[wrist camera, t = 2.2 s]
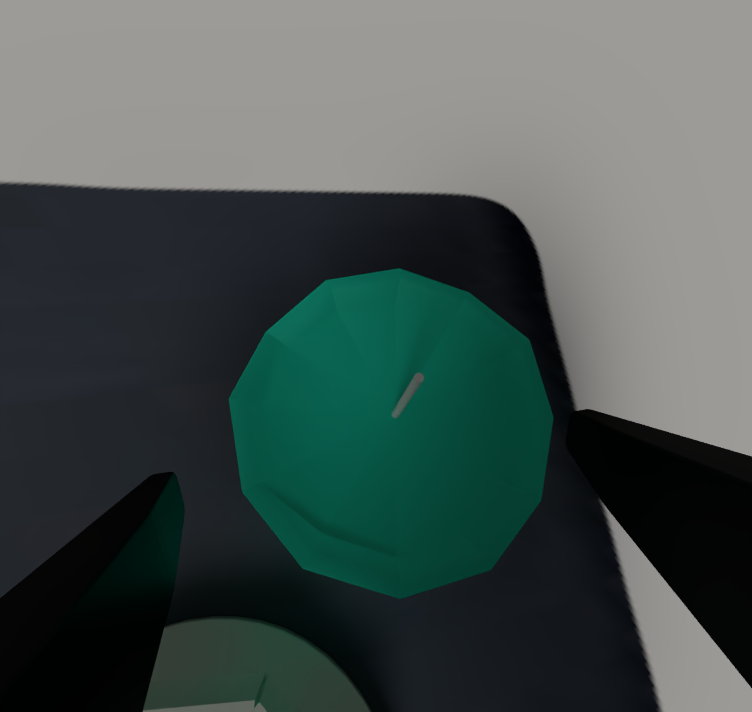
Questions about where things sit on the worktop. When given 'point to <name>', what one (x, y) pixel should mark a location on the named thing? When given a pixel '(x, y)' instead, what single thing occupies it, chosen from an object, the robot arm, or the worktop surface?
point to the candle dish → (246, 670)
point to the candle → (392, 432)
